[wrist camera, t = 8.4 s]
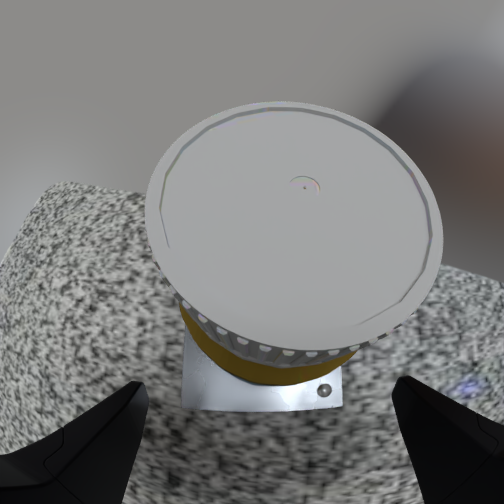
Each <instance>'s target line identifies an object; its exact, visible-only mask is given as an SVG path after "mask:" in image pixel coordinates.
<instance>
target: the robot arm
mask: <svg viewBox="0 0 504 504" xmlns="http://www.w3.org/2000/svg"><path fill="white" fill-rule="evenodd" d="M392 401H393V405H394V408H395V412H396V416H397V420H398V424H399V428H400V431H401V434H402V437H403V439H404V442H405V445H406V448H407V451H408V453H409V456H410V459H411V462H412V465H413V468H414V471H415V474H416V477H417V480H418V483H419V487H420V490H421V493H422V497H423V500H424V503H425V504H504V425H501V424H499V423H497V422H494V421H492V420H490V419H488V418H486V417H484V416H482V415H480V414H478V413H476V412H474V411H473V410H471V409H469V408H467V407H465V406H463V405H461V404H460V403H458V402H456V401H454V400H452V399H450V398H449V397H447V396H445V395H443V394H441V393H440V392H438V391H436V390H434V389H432V388H431V387H429V386H427V385H425V384H423V383H422V382H420V381H418V380H416V379H415V378H413V377H411V376H409V375H406V376H401V377H399V378H398V379H397V382H396V384H395V387H394V389H393V392H392ZM148 405H149V398H148V394H147V391H146V388H145V385H144V383H143V382H139V381H131V382H129V383H128V384H126V385H125V386H123V387H122V388H121V389H119V390H118V391H116V392H115V393H113V394H112V395H110V396H109V397H107V398H106V399H104V400H103V401H101V402H100V403H98V404H97V405H95V406H94V407H92V408H91V409H89V410H88V411H86V412H85V413H83V414H82V415H80V416H79V417H77V418H76V419H74V420H72V421H71V422H69V423H68V424H66V425H65V426H64V428H63V427H61V428H60V429H58V430H57V431H55V432H53V433H52V434H50V435H48V436H46V437H45V438H43V439H41V440H39V441H37V442H35V443H32V444H30V445H28V446H26V447H24V448H21V449H19V450H17V451H14V452H12V453H9V454H5V455H0V504H122V500H123V497H124V493H125V490H126V487H127V483H128V480H129V477H130V474H131V470H132V467H133V464H134V461H135V458H136V455H137V452H138V449H139V445H140V442H141V439H142V435H143V430H144V425H145V420H146V415H147V410H148Z"/></svg>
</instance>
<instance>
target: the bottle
mask: <svg viewBox="0 0 504 504" xmlns="http://www.w3.org/2000/svg"><path fill="white" fill-rule="evenodd" d="M145 229H146V232H147V236H148V241H147V242H148V246H149V248H150V249H151V251H152V253H153V254H152V259H153V261H154V263H155V265H156V266H157V267H158V269H159V270H160V271H159V274H160V276H161V277H162V279H163V280H164V282H165V283H166V284H167V286H168V287H169V289H170V291H171V292H172V293H173V295H174V296H175V297H176V299H177V300H178V301H179V305H180V311H181V314H182V318H183V320H184V322H185V324H186V326H187V328H188V330H189V332H190V334H191V336H192V338H193V340H194V341H195V342H196V344H197V345H198V346H199V348H200V349H201V350H202V351H203V352H204V353H205V354H206V355H207V356H208V357H209V358H210V359H211V360H212V361H213V362H214V363H215V364H217V365H218V366H219V367H220V368H221V369H223V370H224V371H226V372H228V373H229V374H231V375H232V376H234V377H236V378H237V379H239V380H242V381H244V382H246V383H249V384H252V385H257V386H292V385H297V384H300V383H304V382H308V381H311V380H314V379H318V378H320V377H323V376H325V375H327V374H329V373H331V372H332V371H334V370H335V369H336V368H338V367H339V366H341V365H342V364H343V363H345V362H346V361H347V360H349V359H350V358H351V357H352V356H353V355H354V354H355V353H356V352H357V350H359V349H362V348H364V347H366V346H369V345H371V344H373V343H375V342H376V341H377V340H380V339H382V338H384V337H386V336H388V335H390V334H391V333H392V332H393V330H394V329H396V328H398V327H399V326H401V325H403V324H404V323H405V322H406V321H407V317H409V316H410V315H412V314H414V313H415V312H416V311H417V309H418V306H419V305H420V304H421V303H422V301H424V299H425V298H426V296H427V294H428V293H429V291H430V289H431V287H432V285H433V283H434V281H435V279H436V276H437V273H438V270H439V267H440V263H441V258H442V251H443V228H442V221H441V216H440V212H439V209H438V205H437V203H436V200H435V197H434V195H433V192H432V190H431V188H430V186H429V184H428V183H427V181H426V179H425V177H424V176H423V174H422V173H421V171H420V170H419V169H418V167H417V166H416V165H415V163H414V162H413V161H412V160H411V159H410V158H409V157H408V155H407V154H406V153H405V152H404V151H403V150H402V149H400V147H398V146H397V145H396V144H395V143H394V142H393V141H392V140H390V139H389V138H388V137H386V136H385V135H384V134H382V133H381V132H379V131H378V130H376V129H375V128H373V127H371V126H370V125H368V124H366V123H364V122H362V121H360V120H358V119H356V118H354V117H352V116H349V115H347V114H344V113H342V112H339V111H336V110H333V109H330V108H326V107H322V106H317V105H312V104H306V103H298V102H261V103H254V104H248V105H244V106H239V107H235V108H232V109H228V110H226V111H223V112H220V113H218V114H215V115H213V116H211V117H209V118H207V119H205V120H203V121H201V122H200V123H198V124H196V125H195V126H194V127H192V128H190V129H189V130H188V131H186V132H185V133H184V134H183V135H182V136H180V137H179V138H178V139H177V140H176V141H175V142H174V143H173V144H172V145H171V146H170V147H169V149H168V150H167V151H166V152H165V154H164V155H163V157H162V158H161V160H160V161H159V163H158V164H157V167H156V168H155V170H154V172H153V175H152V177H151V180H150V183H149V186H148V190H147V194H146V201H145Z"/></svg>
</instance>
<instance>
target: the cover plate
mask: <svg viewBox="0 0 504 504" xmlns="http://www.w3.org/2000/svg"><path fill="white" fill-rule="evenodd" d="M339 406H342V375H341V366H339V367H338V368H336V369H335V370H334V371H332V372H331V373H329V374H327V375H325V376H323V377H320V378H318V379H314V380H311V381H308V382H304V383H300V384H297V385H292V386H257V385H252V384H249V383H246V382H244V381H242V380H239V379H237V378H236V377H234V376H232V375H231V374H229V373H228V372H226V371H224V370H223V369H221V368H220V367H219V366H218V365H217V364H215V363H214V362H213V361H212V360H211V359H210V358H209V357H208V356H207V355H206V354H205V353H204V352H203V351H202V350H201V349H200V348H199V346H198V345H197V344H196V342H195V341H194V340H193V338H192V336H191V334H190V332H189V330H188V328H187V326H186V325H185V338H184V353H183V372H182V397H181V408H189V409H200V410H214V411H236V412H275V411H297V410H311V409H322V408H331V407H339Z"/></svg>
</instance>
